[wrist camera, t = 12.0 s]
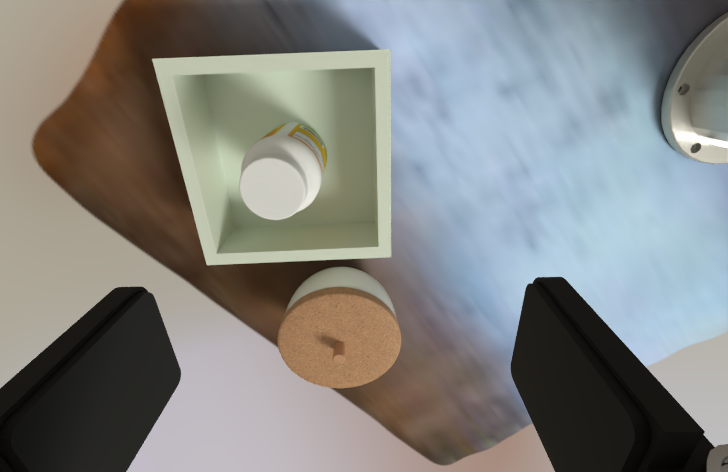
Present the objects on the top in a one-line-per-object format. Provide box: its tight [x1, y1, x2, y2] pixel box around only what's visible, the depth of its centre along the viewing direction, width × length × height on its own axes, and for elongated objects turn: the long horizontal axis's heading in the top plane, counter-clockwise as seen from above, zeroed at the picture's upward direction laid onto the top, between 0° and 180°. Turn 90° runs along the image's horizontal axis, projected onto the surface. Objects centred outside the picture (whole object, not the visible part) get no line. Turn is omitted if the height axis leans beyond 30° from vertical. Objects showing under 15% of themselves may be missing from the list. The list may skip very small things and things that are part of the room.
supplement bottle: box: [239, 122, 327, 220], centre depth 25 cm, size 5×5×10 cm
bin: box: [152, 49, 391, 265], centre depth 28 cm, size 15×15×6 cm
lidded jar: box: [278, 267, 401, 388], centre depth 33 cm, size 11×11×9 cm
